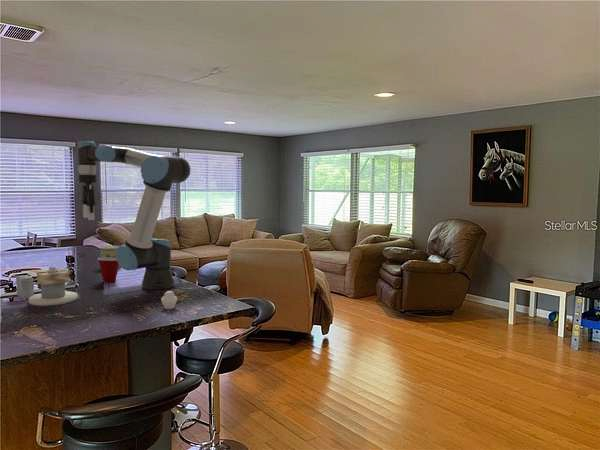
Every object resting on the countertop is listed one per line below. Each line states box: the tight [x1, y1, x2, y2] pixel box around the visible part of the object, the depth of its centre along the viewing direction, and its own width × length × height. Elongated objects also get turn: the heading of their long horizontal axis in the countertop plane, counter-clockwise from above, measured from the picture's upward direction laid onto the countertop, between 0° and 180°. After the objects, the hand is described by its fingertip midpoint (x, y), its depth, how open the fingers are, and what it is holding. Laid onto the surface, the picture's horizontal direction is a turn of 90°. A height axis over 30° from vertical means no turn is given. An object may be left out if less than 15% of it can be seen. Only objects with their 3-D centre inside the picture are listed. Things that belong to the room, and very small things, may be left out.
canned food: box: [100, 245, 123, 270], centre depth 258 cm, size 11×11×12 cm
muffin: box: [160, 290, 178, 310], centre depth 178 cm, size 6×6×7 cm
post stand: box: [27, 265, 78, 307], centre depth 186 cm, size 18×18×14 cm
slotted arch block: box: [36, 267, 71, 286], centre depth 186 cm, size 11×11×4 cm
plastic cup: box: [97, 257, 119, 284], centre depth 222 cm, size 11×11×12 cm
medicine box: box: [15, 274, 35, 300], centre depth 191 cm, size 8×4×9 cm, turn 47°
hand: (88, 218), depth 214 cm, fingers open, 13 cm apart
